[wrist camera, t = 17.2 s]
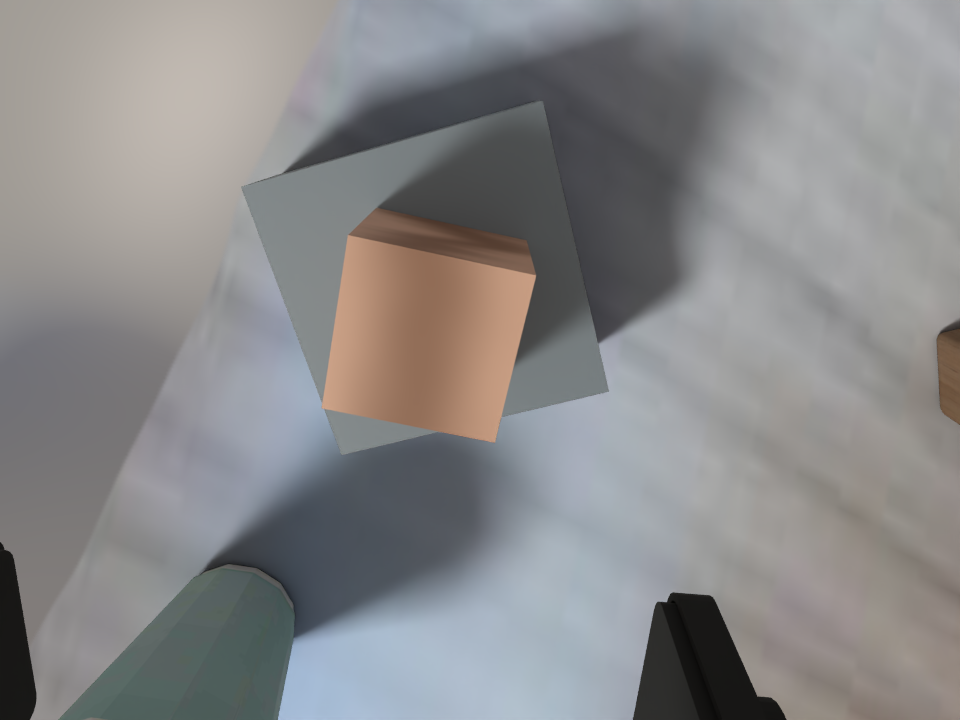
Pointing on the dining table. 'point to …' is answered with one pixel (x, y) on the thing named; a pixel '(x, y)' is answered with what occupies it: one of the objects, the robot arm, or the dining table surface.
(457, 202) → the slate box
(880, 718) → the dining table surface
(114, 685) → the disposable coffee cup
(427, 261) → the terracotta cube
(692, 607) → the robot arm
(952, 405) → the wooden block
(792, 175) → the dining table surface
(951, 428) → the dining table surface
